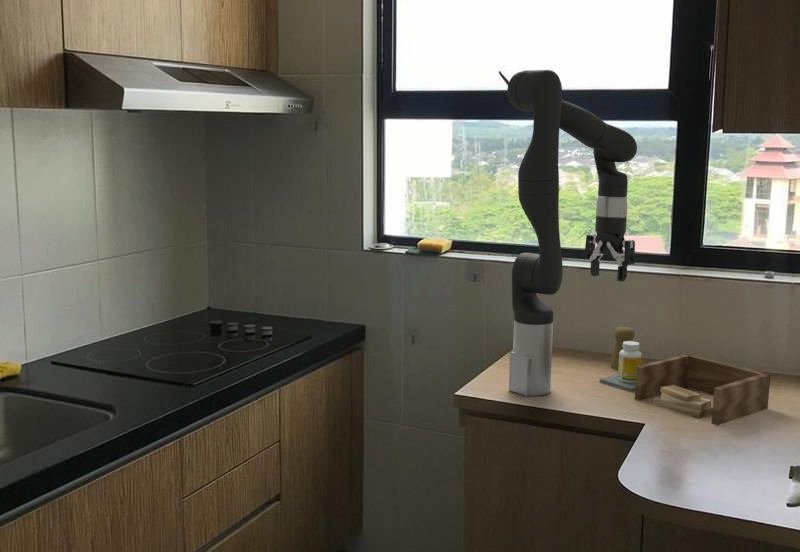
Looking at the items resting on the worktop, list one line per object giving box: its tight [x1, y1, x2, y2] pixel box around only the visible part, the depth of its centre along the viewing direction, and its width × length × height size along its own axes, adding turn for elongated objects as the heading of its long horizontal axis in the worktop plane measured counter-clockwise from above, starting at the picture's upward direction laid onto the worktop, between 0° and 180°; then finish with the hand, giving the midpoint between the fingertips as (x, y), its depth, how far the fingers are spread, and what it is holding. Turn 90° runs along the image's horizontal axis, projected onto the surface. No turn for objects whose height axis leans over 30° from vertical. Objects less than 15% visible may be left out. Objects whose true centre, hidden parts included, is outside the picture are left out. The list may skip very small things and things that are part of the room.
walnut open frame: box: [634, 353, 771, 426], centre depth 204 cm, size 20×22×8 cm
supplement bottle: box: [617, 340, 642, 383], centre depth 218 cm, size 5×5×10 cm
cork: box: [610, 326, 635, 371], centre depth 232 cm, size 6×6×11 cm
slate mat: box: [599, 373, 636, 393], centre depth 219 cm, size 10×10×1 cm
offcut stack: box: [653, 385, 713, 419], centre depth 200 cm, size 6×12×4 cm, turn 37°
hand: (607, 278), depth 223 cm, fingers open, 8 cm apart
